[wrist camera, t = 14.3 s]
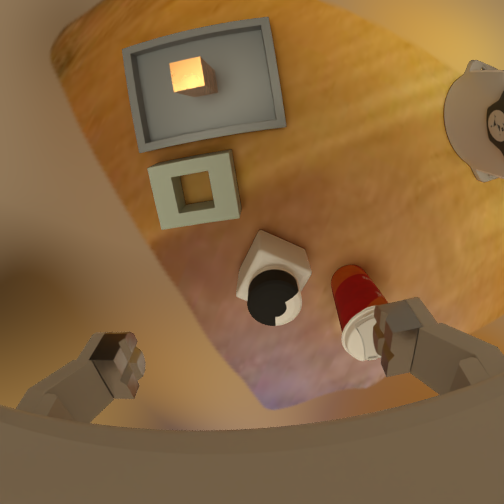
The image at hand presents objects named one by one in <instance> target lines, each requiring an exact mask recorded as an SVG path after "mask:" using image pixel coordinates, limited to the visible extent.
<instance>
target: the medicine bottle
mask: <svg viewBox="0 0 504 504" xmlns="http://www.w3.org/2000/svg"><path fill="white" fill-rule="evenodd" d="M311 274H312V271H311V267H310V264H309V261H308V258H307V254H306V251H305V249H303V248H301V247H299V246H297V245H294V244H292V243H290V242H288V241H285V240H283V239H281V238H279V237H276V236H274V235H272V234H269V233H267V232H265V231H263V230H259V231H258V233H257V235H256V237H255V239H254V241H253V243H252V245H251V247H250V249H249V251H248V253H247V255H246V257H245V259H244V261H243V264H242V266H241V268H240V270H239V275H238V283H237V291H236V296H237V297H238V298H240V299H243V300H246V301H247V306H248V310H249V312H250V314H251V315H252V317H253V318H254V319H255V320H257V321H258V322H260V323H262V324H265V325H270V326H278V325H283V324H286V323H288V322H290V321H292V320H293V319H294V318H295V317H296V316H297V315H298V314H299V312H300V310H301V307H302V297H301V291H302V289H303V288H304V286H305V284H306V283H307V281H308V279H309V278H310V276H311Z"/></svg>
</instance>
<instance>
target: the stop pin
mask: <svg viewBox="0 0 504 504" xmlns="http://www.w3.org/2000/svg"><path fill="white" fill-rule="evenodd" d="M169 65H170V72H171V78H172V84H173V90H174V92H175V93H179V94H183V95H187V96H191V97H199V96H204V95H209V94H214V93H218V88H217V82H216V76H215V70H214V69H213V68H212V67H211V66H210V65H209V64H208V63H207V62H206V61H205V60H203V59H202V58H201V57H200V56H199V57H195V58H190V59H186V60H181V61H177V62H173V63H169Z"/></svg>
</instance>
